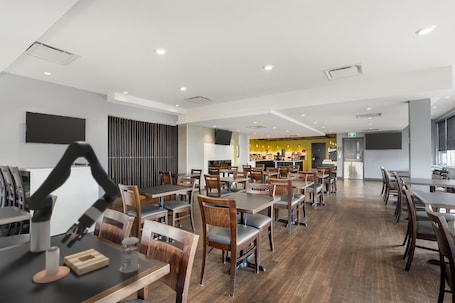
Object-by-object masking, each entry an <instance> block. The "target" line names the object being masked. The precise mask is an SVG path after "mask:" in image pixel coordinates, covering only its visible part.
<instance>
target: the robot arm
mask: <svg viewBox="0 0 455 303" xmlns="http://www.w3.org/2000/svg"><path fill="white" fill-rule="evenodd" d="M79 158H84V159H85V160H86V161H87V163H88V164H89V168H90V174H91V176H92V178H93V179H94V181H95V182H96V183H97V185H98V186H99V187H101V189H102V190H103V191H104V194H103V195H102V196H101V197H99V198H98V199H96V201H94V202H93V203H92V204H91V206H90V207H89V208H87V210H85V211H84V213H82V215H80V217H79V218H78V219H77V222H78V223H76V222H74V223H73V224H72V225H71V226H70V227H69V228H67V230H66V231H65V233H66V234H65V236H63V238H62V239H61V240H60V242H61V243H62V244H63V245H64V244H66V243H67V244H66V247H67V248H68V249H71V248H72V247H73V246H74V245H75V243H77V242H81V240H82V239H83V238H84V237H85V236H86V235H87V233H88V232H89V229H91V228H92V226H93V225H95V223H96V222H97V221H98V220H99V219H100V218H101V217H102V215H103V213H104V212H105V211H106V210H107V209H108V208H109V206H111V205H112V204H113V203H114V202H115V201H116V200H117V198H119V196H120V187H118V185H117V183H115V181H114V180H112V178H111V177H110V175H109V174H108V173H107V172H106V171H105V169H104V168H103V166H102V164H101V162H100V160H99V158H98V157H97V155H96V152H95V150H94V148H93V147H92V145H91V144H90V143H89V142H88V141H82V140H81V141H80V140H79V141H72V142H70V143H69V145H68V146H67V147H66V149H65V151H64V153H63V155H62V156H61V158H60V159H59V160H58V162H57V163H56V165H55V166H54V168H53V169H52V170H51V171H50V173H48V175H47V177H46V179H45V180H43V182H42V183H41V185H39V187H37V189H36V190H35V191H34V192H33V193H32V194H31V195H30V197H29V198H28V200H27V201H26V202H27V203H26V206H27V209H28V210H29V211H33V212H35V211H37V212H36V213H35V214H34V215H32V216H31V218H30V252H31V253H40V252H44V251H45V252H46V251H47V249H48V248H50V247H51V218H52V215H53V207H54V205H53V204H54V203H53V202H54V200H53V196H52V195H51V194H52V193H53V192H56V190H58V189H60V188H61V187H62V186H63V185H64V184H65V183H66V182H67V181H68V179H69V178H70V177H71V173H72V166H73V165H74V163H75V161H77V159H79ZM70 238H71V239H70ZM69 239H70V241H68V240H69ZM67 241H68V242H67Z"/></svg>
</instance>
